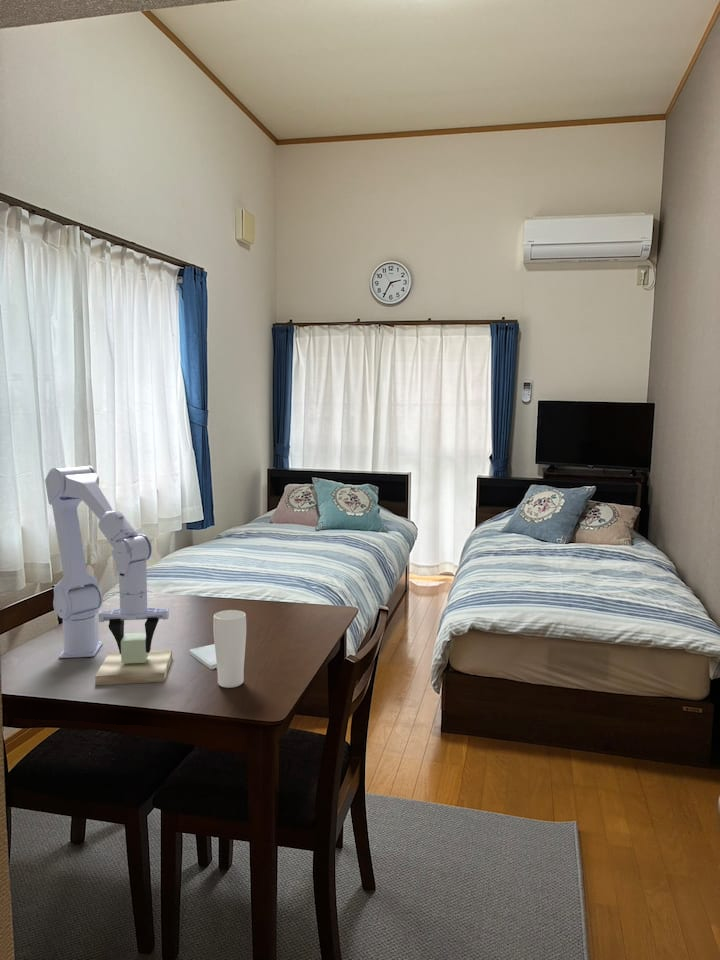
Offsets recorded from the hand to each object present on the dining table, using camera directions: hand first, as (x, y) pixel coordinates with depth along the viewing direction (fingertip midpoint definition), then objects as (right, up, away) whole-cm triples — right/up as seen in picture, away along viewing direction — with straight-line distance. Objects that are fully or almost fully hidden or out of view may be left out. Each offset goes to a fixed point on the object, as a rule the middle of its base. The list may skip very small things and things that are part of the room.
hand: (135, 651), depth 153 cm
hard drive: (+16, -4, +9) cm, 19 cm away
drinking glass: (+22, -5, -6) cm, 24 cm away
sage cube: (0, -2, 0) cm, 2 cm away
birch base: (0, -4, 0) cm, 4 cm away
